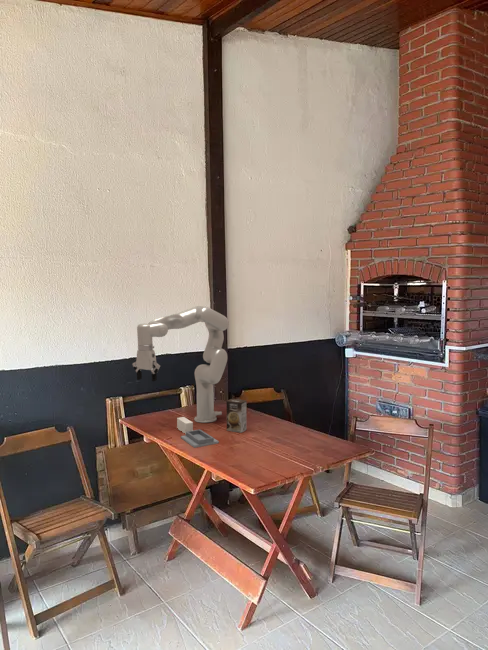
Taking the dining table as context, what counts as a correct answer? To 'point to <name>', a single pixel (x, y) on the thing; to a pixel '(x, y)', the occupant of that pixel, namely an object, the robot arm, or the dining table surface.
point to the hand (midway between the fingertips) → (146, 380)
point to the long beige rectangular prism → (184, 424)
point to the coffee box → (236, 415)
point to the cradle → (198, 438)
